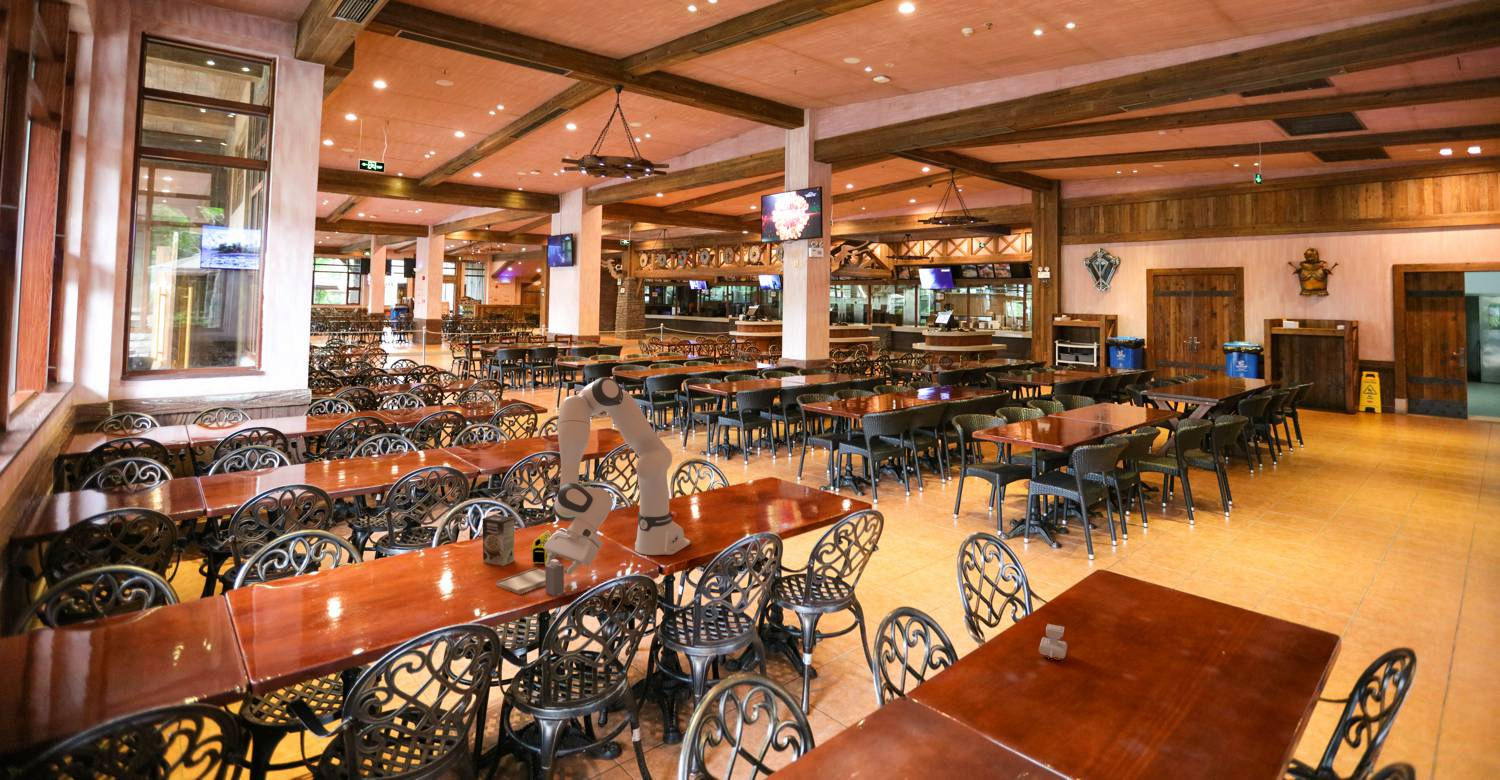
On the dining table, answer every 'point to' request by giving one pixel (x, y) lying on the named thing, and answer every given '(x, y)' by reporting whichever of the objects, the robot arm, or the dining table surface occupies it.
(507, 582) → the board
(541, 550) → the yellow toy chassis
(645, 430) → the robot arm
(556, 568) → the grey bottle
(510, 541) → the coffee box
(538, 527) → the dining table surface
